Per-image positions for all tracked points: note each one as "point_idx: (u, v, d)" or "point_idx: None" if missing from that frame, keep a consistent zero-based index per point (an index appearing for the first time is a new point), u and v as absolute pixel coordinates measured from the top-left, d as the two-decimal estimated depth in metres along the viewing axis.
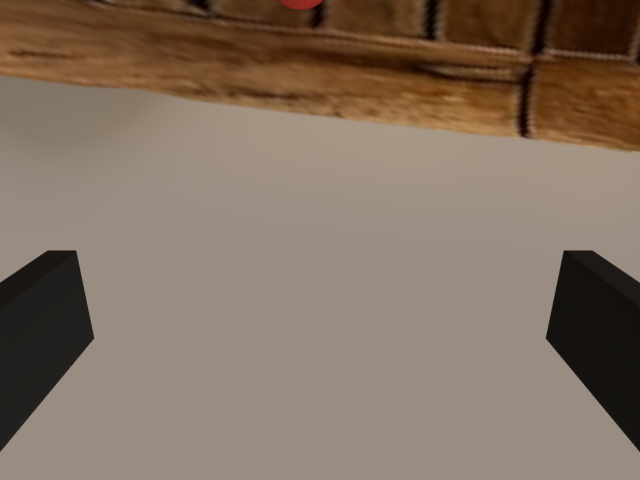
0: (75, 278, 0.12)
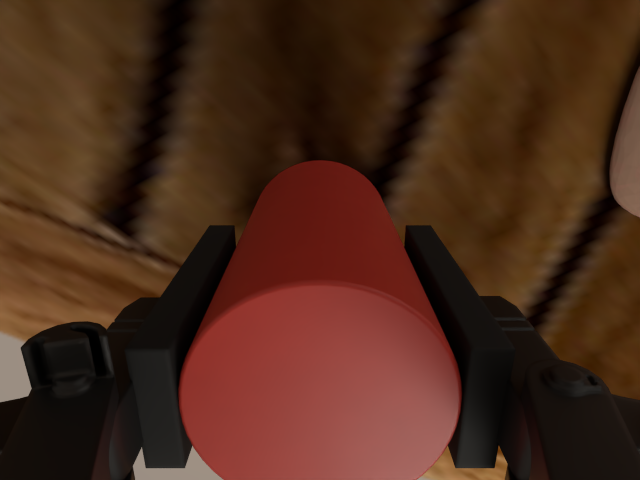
0: (234, 249, 0.14)
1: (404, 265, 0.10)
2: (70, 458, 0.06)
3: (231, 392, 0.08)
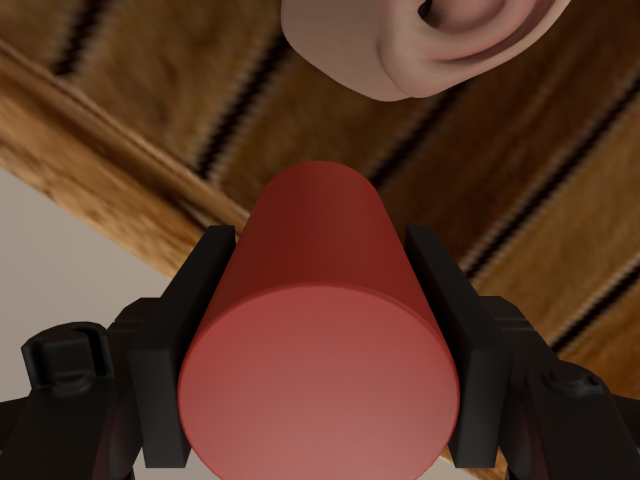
0: None
1: (403, 266, 0.10)
2: (70, 458, 0.06)
3: (229, 393, 0.08)
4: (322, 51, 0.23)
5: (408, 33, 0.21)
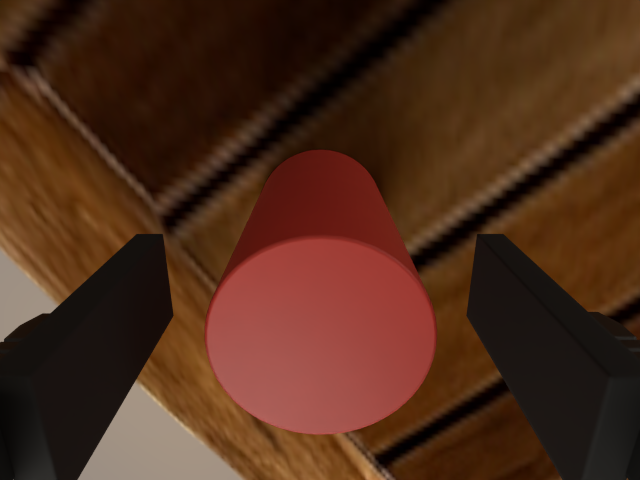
0: (162, 259, 0.13)
1: (391, 231, 0.12)
2: None
3: (248, 329, 0.10)
4: None
5: None
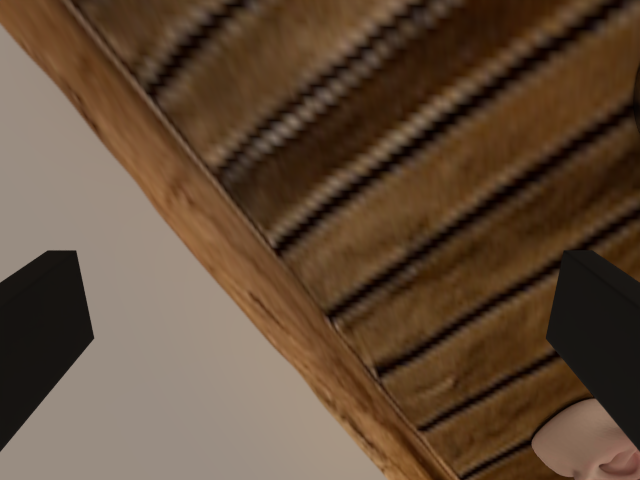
0: (75, 278, 0.12)
1: None
2: None
3: None
4: (547, 458, 0.49)
5: (593, 475, 0.47)
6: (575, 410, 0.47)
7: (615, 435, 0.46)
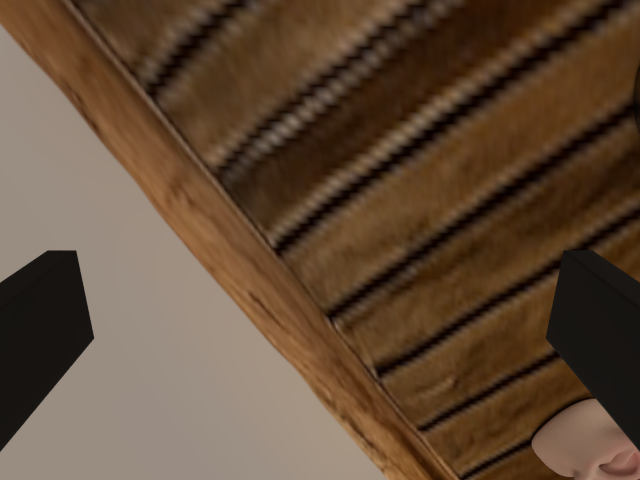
0: (75, 278, 0.12)
1: None
2: None
3: None
4: (547, 458, 0.49)
5: (593, 475, 0.47)
6: (575, 410, 0.47)
7: (615, 435, 0.46)
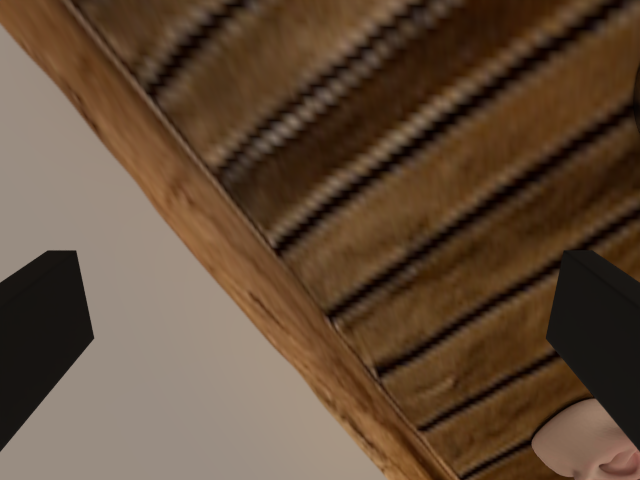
0: (75, 278, 0.12)
1: None
2: None
3: None
4: (547, 458, 0.49)
5: (593, 475, 0.47)
6: (575, 410, 0.47)
7: (615, 435, 0.46)
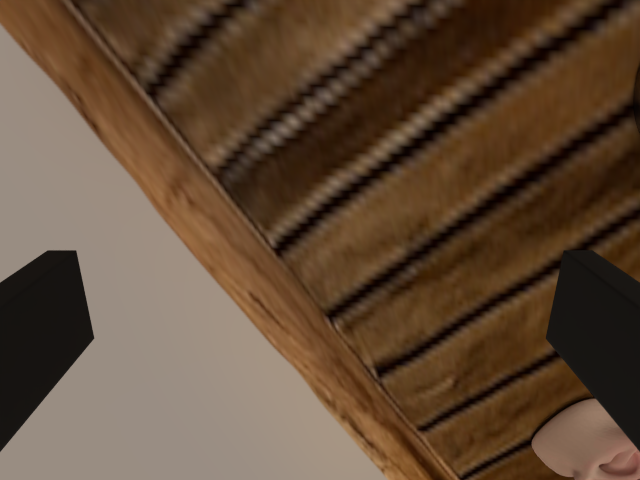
0: (75, 278, 0.12)
1: None
2: None
3: None
4: (547, 458, 0.49)
5: (593, 475, 0.47)
6: (575, 410, 0.47)
7: (615, 435, 0.46)
